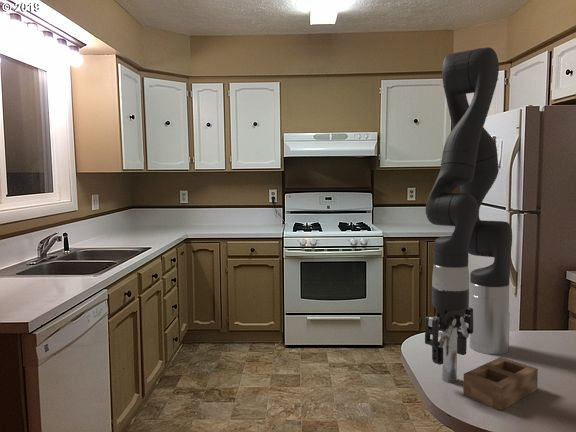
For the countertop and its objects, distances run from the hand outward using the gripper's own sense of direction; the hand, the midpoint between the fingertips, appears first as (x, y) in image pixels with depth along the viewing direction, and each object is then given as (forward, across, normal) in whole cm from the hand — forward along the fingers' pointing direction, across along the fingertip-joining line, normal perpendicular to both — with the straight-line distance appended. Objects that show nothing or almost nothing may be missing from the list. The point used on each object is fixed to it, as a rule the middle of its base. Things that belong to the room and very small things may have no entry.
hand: (449, 358), depth 100 cm
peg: (+5, 0, 0) cm, 5 cm away
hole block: (+5, -3, +10) cm, 11 cm away
